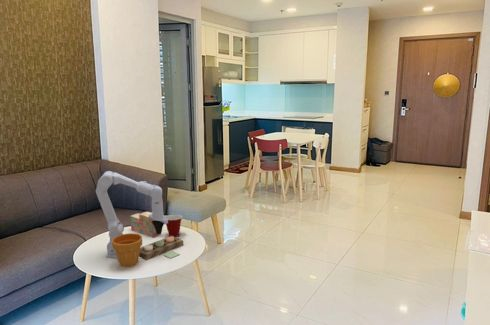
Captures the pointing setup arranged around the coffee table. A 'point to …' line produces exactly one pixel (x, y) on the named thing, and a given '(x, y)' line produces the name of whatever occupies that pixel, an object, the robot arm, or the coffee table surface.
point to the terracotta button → (170, 239)
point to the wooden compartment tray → (160, 248)
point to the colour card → (171, 254)
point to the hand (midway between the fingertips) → (159, 233)
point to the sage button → (159, 243)
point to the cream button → (148, 248)
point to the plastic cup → (173, 224)
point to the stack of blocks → (143, 224)
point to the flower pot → (127, 248)
